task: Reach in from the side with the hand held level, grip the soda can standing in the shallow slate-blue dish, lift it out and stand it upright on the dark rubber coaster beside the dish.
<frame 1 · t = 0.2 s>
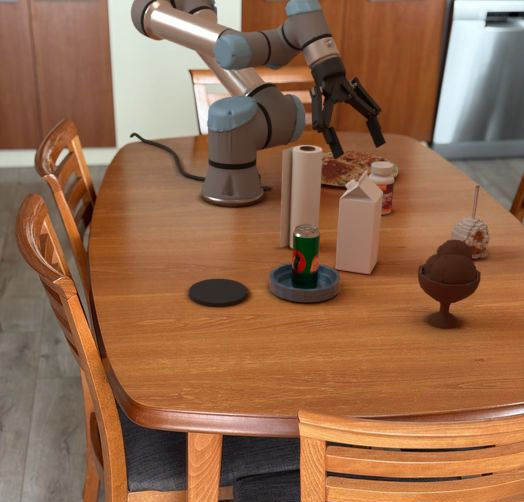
hand: (360, 151, 193), 16 cm above the table, tool tilted 35°, fingers open, 13 cm apart
pill bottle: (378, 211, 204), on the table
candy apple: (467, 254, 182), on the table
milk carton: (356, 267, 175), on the table
coaster: (218, 294, 162), on the table
soda can: (304, 288, 164), resting on dish
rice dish: (346, 174, 230), on the table
dish: (304, 289, 165), on the table
paper towel roll: (300, 247, 184), on the table
ice cream bowl: (442, 322, 153), on the table
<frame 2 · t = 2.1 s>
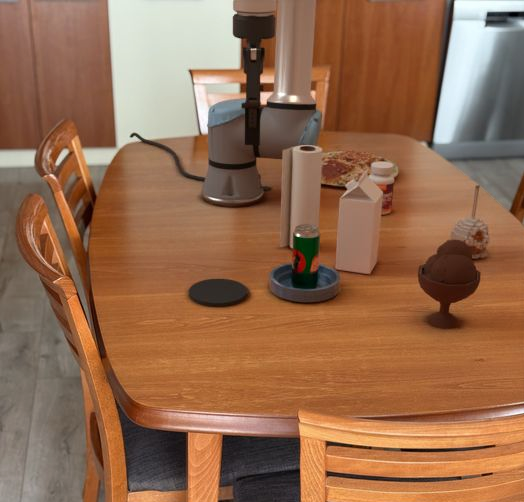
hand: (252, 135, 159), 27 cm above the table, tool pointing down, fingers open, 13 cm apart
nothing on the table moved.
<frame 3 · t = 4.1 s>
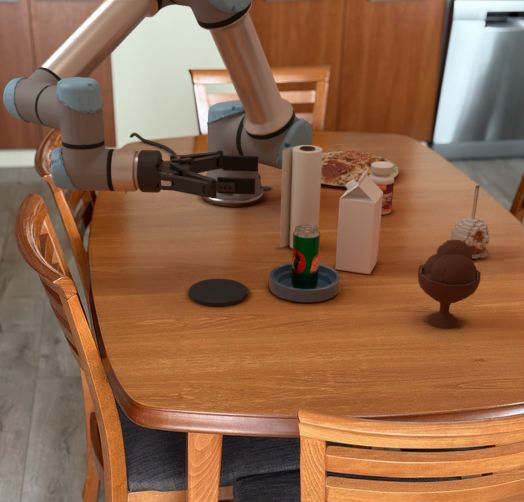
hand: (256, 174, 154), 22 cm above the table, tool horizontal, fingers open, 13 cm apart
nothing on the table moved.
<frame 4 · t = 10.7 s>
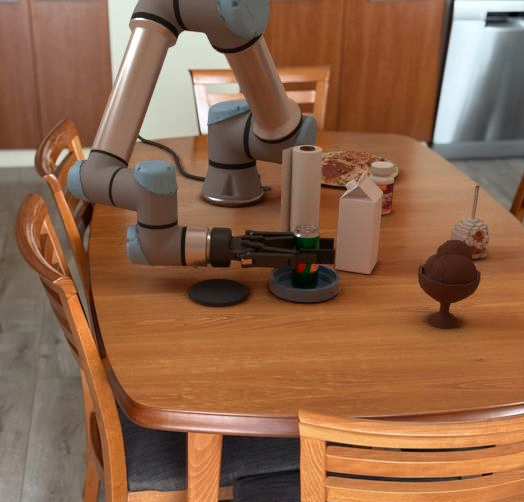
hand: (333, 251, 161), 8 cm above the table, tool horizontal, fingers closed on soda can, 5 cm apart
soda can: (304, 288, 164), resting on dish, touching gripper
everything else where it was.
when the fingers open (8 cm above the table, at t = 18.4 s): soda can stays where it is, resting on coaster.
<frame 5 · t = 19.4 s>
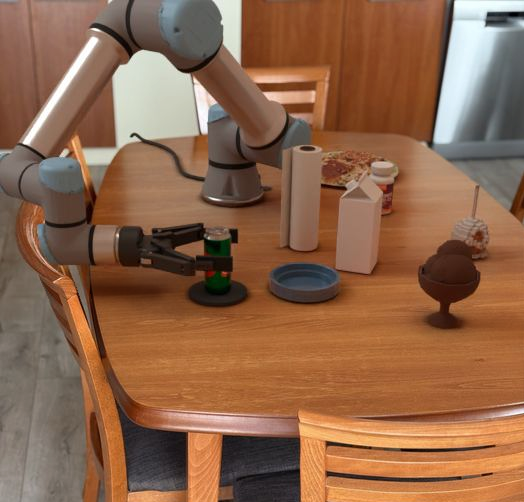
hand: (235, 249, 157), 9 cm above the table, tool horizontal, fingers open, 13 cm apart
soda can: (217, 291, 162), point 1 cm above the table, touching coaster
everything else where it was.
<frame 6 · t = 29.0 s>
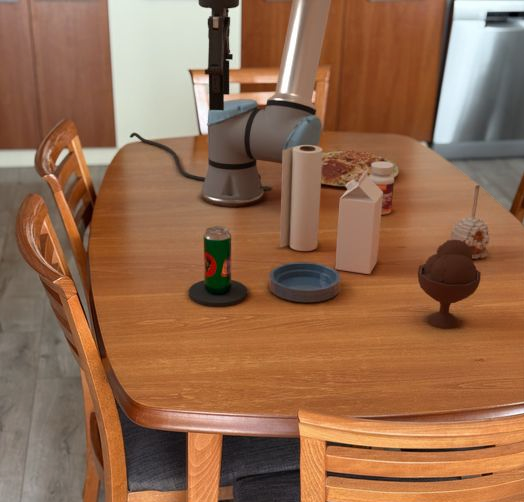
hand: (219, 101, 167), 31 cm above the table, tool pointing down, fingers open, 13 cm apart
nothing on the table moved.
at the end: soda can 0.0 cm off-centre on the coaster, point 0.6 cm above the coaster's base; soda can tilted 0°; soda can touching coaster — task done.
